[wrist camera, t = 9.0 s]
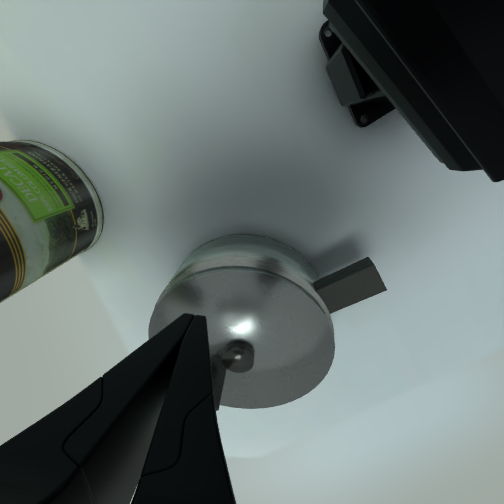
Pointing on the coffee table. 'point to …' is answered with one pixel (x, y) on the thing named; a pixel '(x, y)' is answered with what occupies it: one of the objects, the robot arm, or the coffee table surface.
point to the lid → (254, 333)
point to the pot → (285, 269)
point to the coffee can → (42, 213)
